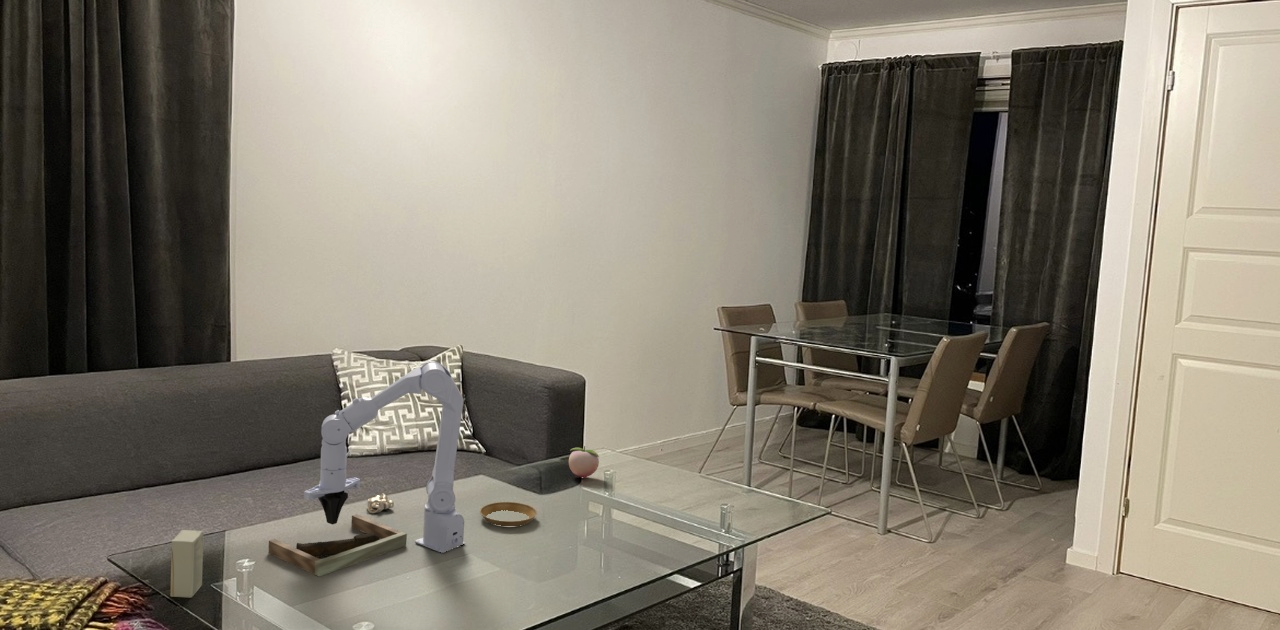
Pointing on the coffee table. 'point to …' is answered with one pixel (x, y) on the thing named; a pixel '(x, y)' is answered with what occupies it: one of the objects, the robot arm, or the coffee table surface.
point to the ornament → (379, 503)
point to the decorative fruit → (583, 462)
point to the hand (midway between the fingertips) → (331, 522)
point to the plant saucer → (510, 507)
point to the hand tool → (336, 545)
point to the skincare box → (186, 563)
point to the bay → (319, 567)
